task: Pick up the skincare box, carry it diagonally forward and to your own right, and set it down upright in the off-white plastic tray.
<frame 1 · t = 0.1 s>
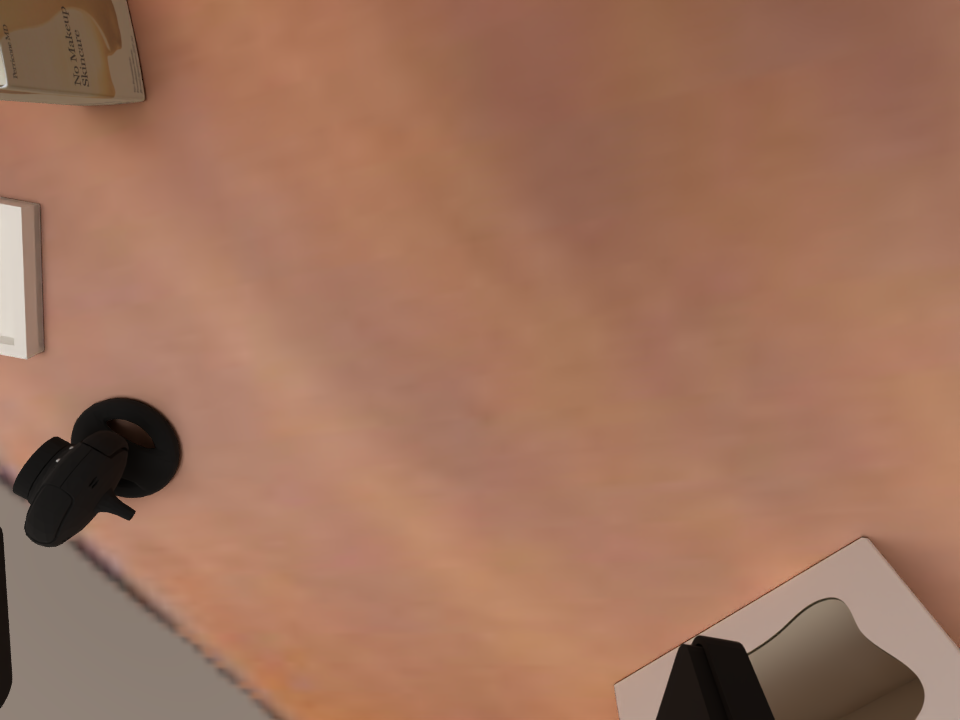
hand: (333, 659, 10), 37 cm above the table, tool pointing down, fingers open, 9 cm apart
gable box: (780, 668, 54), on the table
webcam: (131, 443, 51), on the table
skincare box: (104, 47, 42), on the table
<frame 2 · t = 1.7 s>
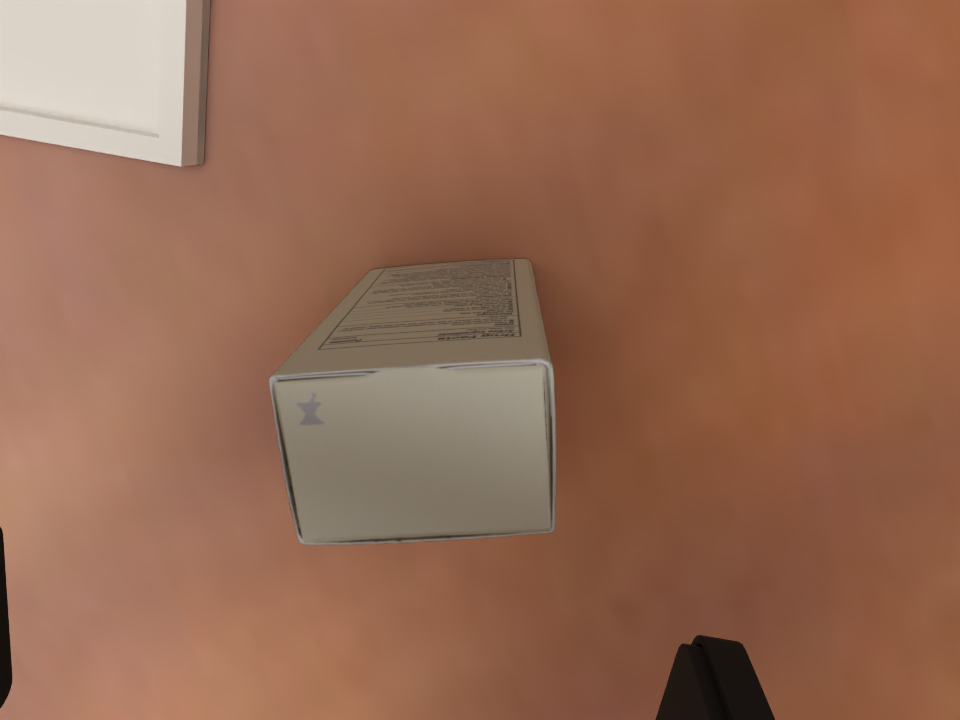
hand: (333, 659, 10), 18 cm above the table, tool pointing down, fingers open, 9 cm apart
skincare box: (458, 315, 27), on the table
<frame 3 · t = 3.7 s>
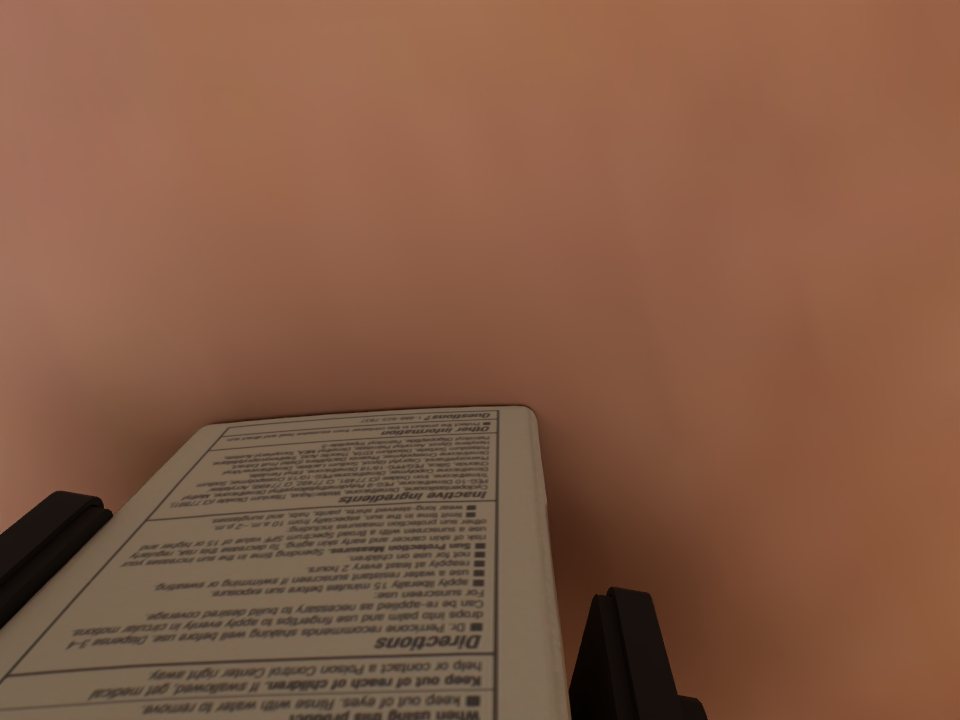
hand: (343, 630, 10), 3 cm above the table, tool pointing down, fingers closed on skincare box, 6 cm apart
skincare box: (389, 507, 14), on the table, touching gripper
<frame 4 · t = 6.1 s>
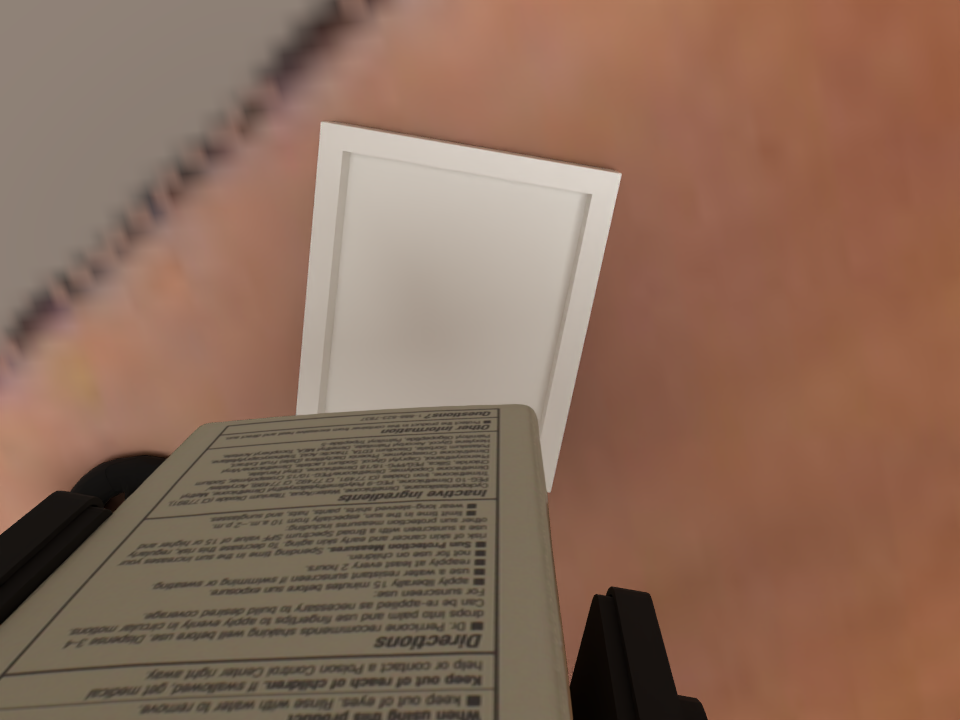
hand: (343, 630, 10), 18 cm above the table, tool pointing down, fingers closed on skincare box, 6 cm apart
webcam: (161, 526, 31), on the table
skincare box: (389, 506, 14), point 14 cm above the table, touching gripper
tray: (449, 308, 27), on the table
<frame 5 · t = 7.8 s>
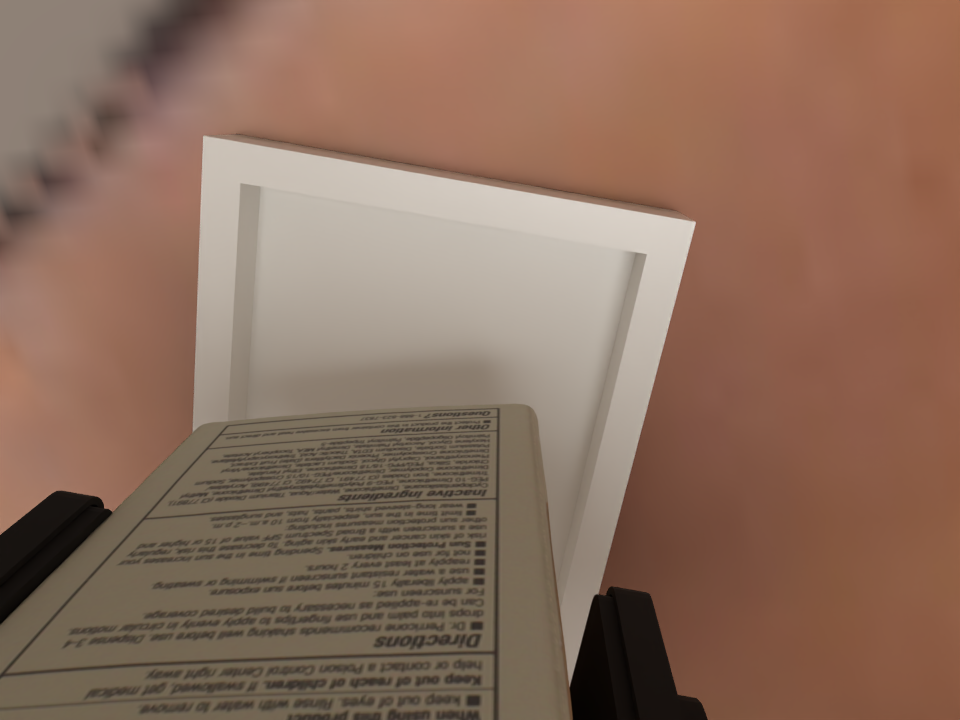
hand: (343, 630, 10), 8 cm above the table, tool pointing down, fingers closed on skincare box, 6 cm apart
skincare box: (389, 506, 14), point 5 cm above the table, touching gripper
tray: (420, 415, 18), on the table
when the fingers open (5 cm above the table, at t = 9.1 s): skincare box stays where it is, resting on tray.
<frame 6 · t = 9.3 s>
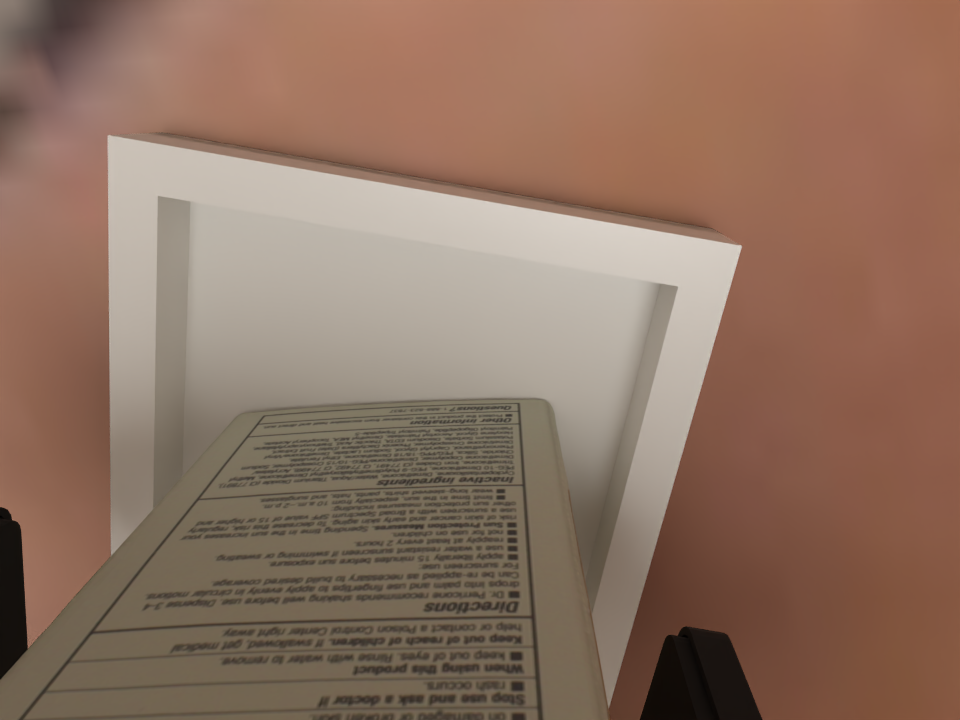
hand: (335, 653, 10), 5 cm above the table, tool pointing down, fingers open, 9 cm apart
skincare box: (412, 494, 14), resting on tray
tray: (396, 474, 15), on the table
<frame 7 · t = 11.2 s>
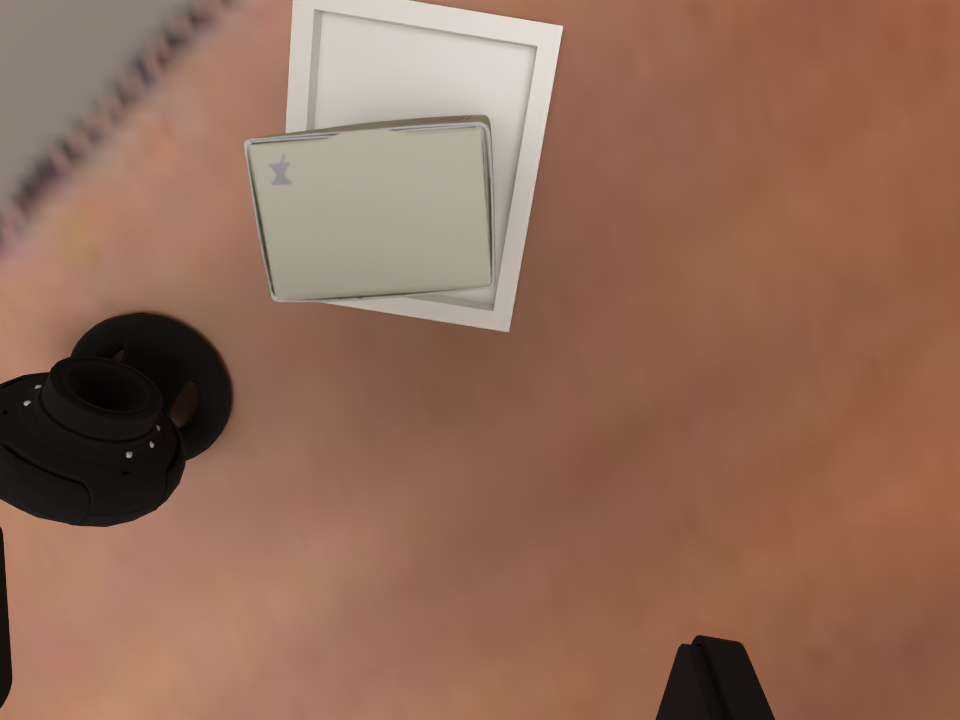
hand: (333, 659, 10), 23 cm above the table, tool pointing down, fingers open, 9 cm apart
webcam: (158, 384, 34), on the table
skincare box: (423, 172, 30), resting on tray
tray: (415, 166, 30), on the table
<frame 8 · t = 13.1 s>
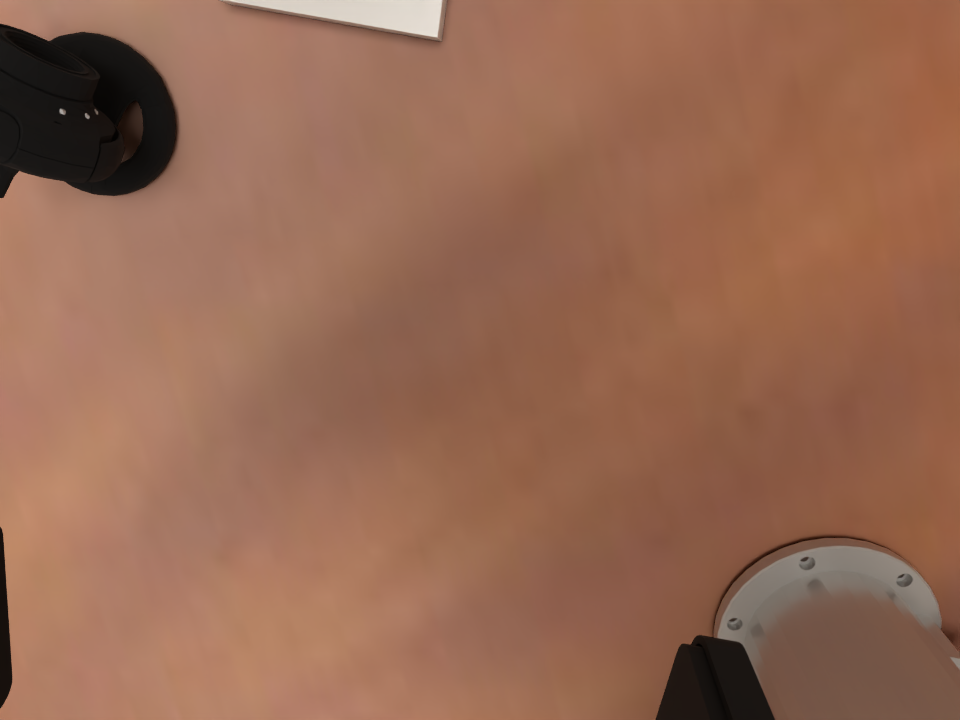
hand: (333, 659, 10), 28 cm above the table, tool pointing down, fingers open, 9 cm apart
webcam: (107, 116, 35), on the table
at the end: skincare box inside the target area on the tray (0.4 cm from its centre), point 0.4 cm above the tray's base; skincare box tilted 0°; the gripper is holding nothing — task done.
